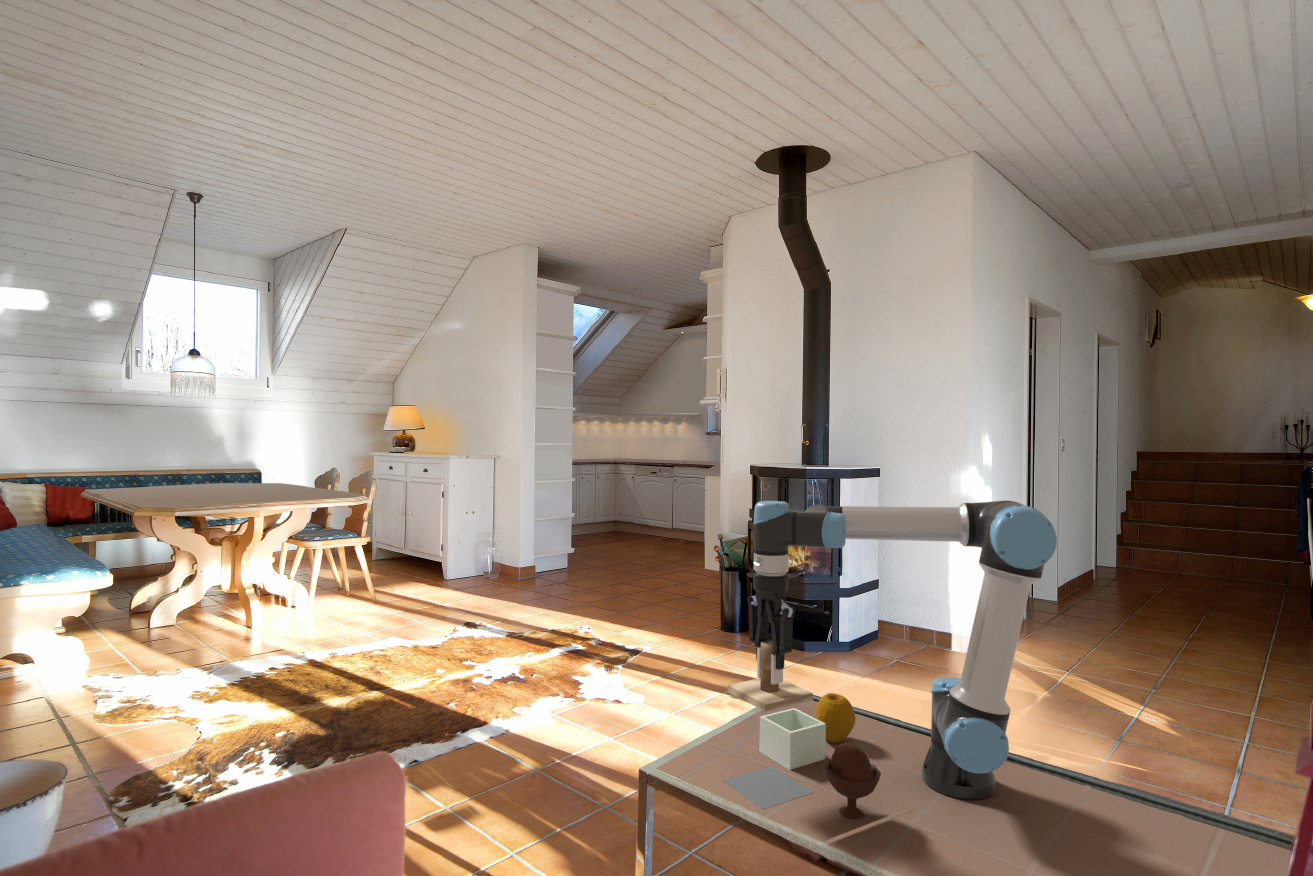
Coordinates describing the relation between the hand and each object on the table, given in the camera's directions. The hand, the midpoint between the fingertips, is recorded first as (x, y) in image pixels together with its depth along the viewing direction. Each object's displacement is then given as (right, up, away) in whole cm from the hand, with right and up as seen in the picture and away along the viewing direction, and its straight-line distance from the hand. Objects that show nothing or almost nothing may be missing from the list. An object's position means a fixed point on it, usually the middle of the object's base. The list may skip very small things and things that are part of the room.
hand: (769, 679), depth 159 cm
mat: (0, -24, +1) cm, 24 cm away
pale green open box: (+8, -24, +16) cm, 30 cm away
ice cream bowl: (+15, -25, -10) cm, 31 cm away
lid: (0, -4, 0) cm, 4 cm away
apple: (+20, -24, +26) cm, 41 cm away
